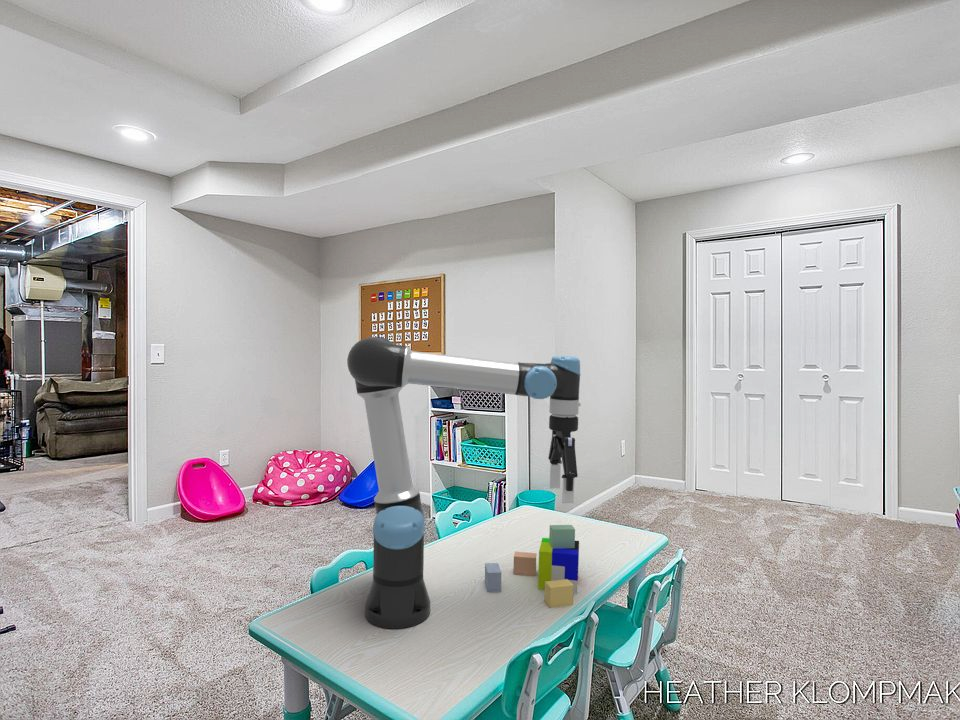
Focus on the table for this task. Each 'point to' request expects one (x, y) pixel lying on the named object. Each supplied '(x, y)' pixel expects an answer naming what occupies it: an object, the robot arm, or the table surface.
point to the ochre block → (558, 593)
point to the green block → (562, 536)
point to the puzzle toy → (558, 564)
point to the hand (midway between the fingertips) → (560, 495)
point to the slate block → (492, 577)
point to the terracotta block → (524, 563)
